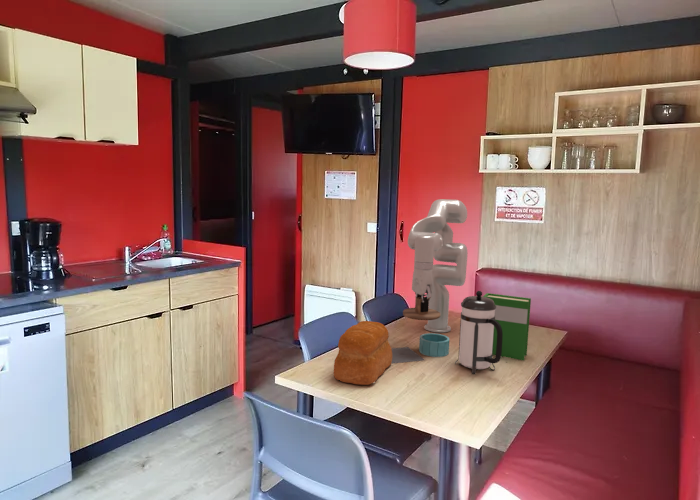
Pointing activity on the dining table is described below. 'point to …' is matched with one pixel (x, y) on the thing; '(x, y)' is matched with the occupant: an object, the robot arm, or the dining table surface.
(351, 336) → the bread
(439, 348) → the bowl
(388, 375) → the dining table surface
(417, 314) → the lid
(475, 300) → the coffee press
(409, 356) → the mat
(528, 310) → the hardback book
